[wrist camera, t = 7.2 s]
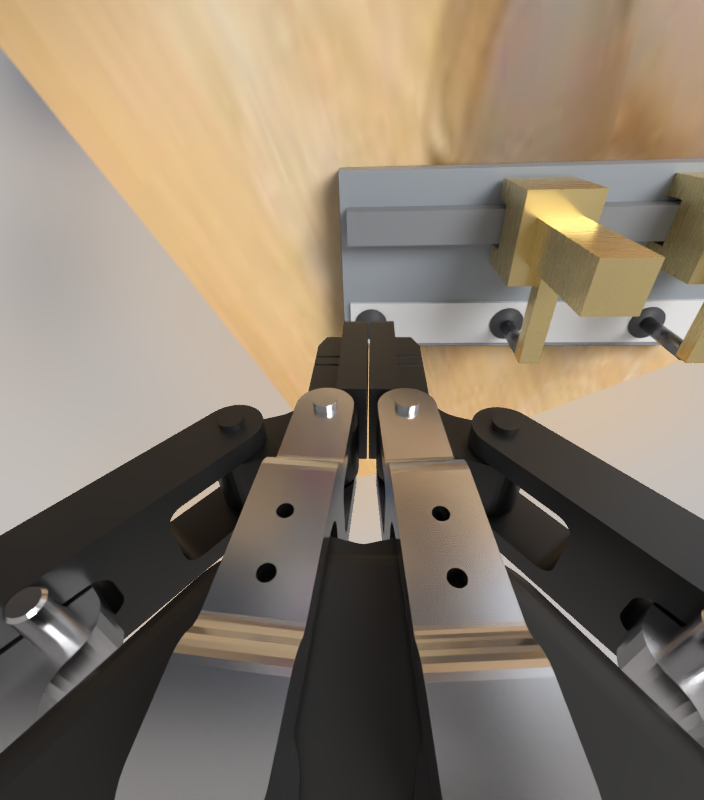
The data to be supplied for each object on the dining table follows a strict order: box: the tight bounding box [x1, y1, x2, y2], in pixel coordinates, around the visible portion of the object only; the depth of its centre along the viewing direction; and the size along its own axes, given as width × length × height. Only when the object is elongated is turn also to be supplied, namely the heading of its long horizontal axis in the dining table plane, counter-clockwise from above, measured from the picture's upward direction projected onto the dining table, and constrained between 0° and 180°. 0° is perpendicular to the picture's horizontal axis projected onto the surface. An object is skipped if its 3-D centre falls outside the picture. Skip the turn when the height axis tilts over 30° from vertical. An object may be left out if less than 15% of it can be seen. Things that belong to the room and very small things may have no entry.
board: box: [338, 158, 704, 346], centre depth 27 cm, size 12×26×4 cm, turn 91°
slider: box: [489, 176, 665, 363], centre depth 22 cm, size 10×4×11 cm, turn 1°
